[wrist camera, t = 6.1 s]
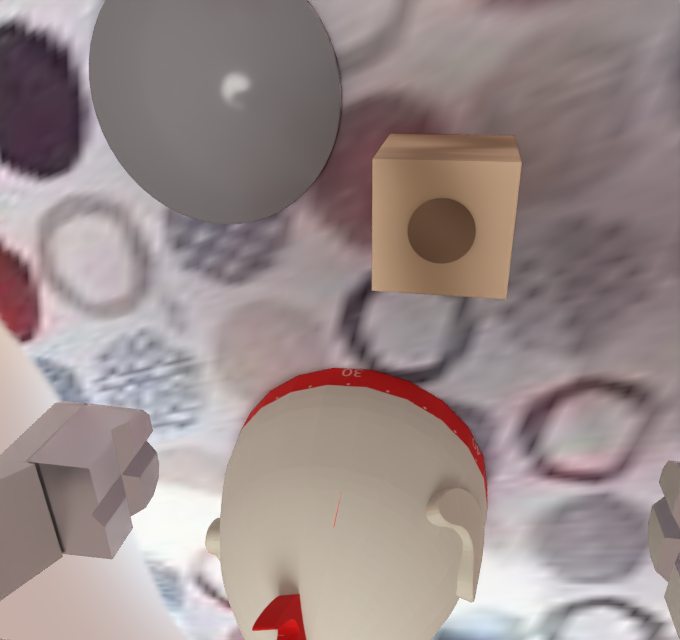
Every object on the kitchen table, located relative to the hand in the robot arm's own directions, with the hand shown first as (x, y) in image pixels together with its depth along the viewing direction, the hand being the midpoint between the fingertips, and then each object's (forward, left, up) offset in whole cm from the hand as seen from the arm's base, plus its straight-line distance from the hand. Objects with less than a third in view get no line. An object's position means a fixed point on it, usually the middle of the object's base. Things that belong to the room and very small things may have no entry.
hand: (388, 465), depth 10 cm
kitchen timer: (+4, +17, -19) cm, 25 cm away
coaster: (+10, -3, -18) cm, 21 cm away
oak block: (0, +1, -19) cm, 19 cm away
